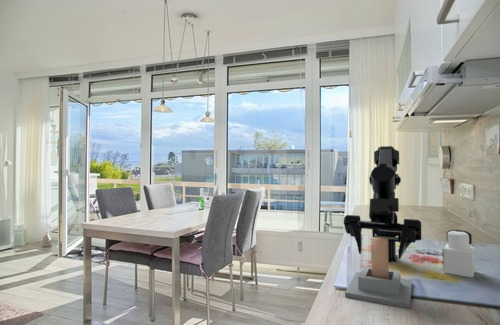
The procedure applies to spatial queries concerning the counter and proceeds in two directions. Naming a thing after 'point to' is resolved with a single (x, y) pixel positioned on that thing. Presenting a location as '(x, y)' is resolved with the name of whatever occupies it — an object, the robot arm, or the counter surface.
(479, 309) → the counter surface
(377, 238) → the dowel
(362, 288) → the socket
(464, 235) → the medicine bottle
